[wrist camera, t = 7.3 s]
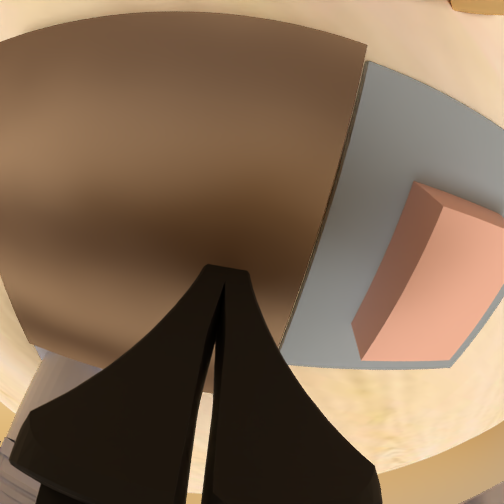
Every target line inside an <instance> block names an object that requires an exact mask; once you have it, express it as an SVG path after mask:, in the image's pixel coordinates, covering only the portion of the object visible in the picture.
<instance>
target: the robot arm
mask: <svg viewBox="0 0 504 504" xmlns="http://www.w3.org/2000/svg"><path fill="white" fill-rule="evenodd" d="M214 345H215V361H214V388H213V409H212V419H211V427H210V435H209V443H208V451H207V459H206V467H205V475H204V484H203V492H202V500H201V504H382V496H381V488H380V483H379V479H378V476H377V473H376V469H375V466H374V465H373V464H372V463H371V462H370V461H369V460H367V459H366V458H365V457H364V456H363V455H362V454H361V453H360V452H358V451H357V450H356V449H355V448H354V447H353V446H352V445H351V444H350V443H349V442H348V441H347V440H346V439H345V438H344V437H343V436H342V435H341V434H340V433H339V432H338V430H337V429H336V428H335V427H334V426H333V425H332V424H331V423H330V422H329V421H328V420H327V418H326V417H325V416H324V415H323V413H322V412H321V411H320V410H319V408H318V407H317V406H316V405H315V403H314V402H313V401H312V400H311V398H310V397H309V396H308V395H307V393H306V392H305V391H304V389H303V388H302V386H301V385H300V383H299V382H298V380H297V379H296V377H295V376H294V374H293V373H292V371H291V370H290V368H289V366H288V365H287V363H286V361H285V360H284V358H283V356H282V354H281V353H280V351H279V349H278V347H277V345H276V343H275V341H274V339H273V337H272V335H271V333H270V331H269V329H268V327H267V324H266V322H265V320H264V317H263V315H262V312H261V310H260V307H259V305H258V302H257V299H256V296H255V293H254V290H253V286H252V282H251V278H250V274H249V272H248V271H247V270H241V269H235V268H229V267H223V266H217V265H211V264H207V265H205V266H204V267H203V269H202V270H201V272H200V274H199V275H198V277H197V278H196V280H195V281H194V282H193V284H192V285H191V286H190V288H189V289H188V290H187V291H186V293H185V294H184V295H183V296H182V297H181V299H180V300H179V301H178V302H177V303H176V305H175V306H174V307H173V308H172V309H171V310H170V311H169V312H168V313H167V314H166V315H165V317H164V318H163V319H162V320H161V321H160V322H159V323H158V324H157V325H156V326H155V327H154V328H153V329H152V330H151V331H150V332H149V333H148V334H146V335H145V336H144V337H143V338H142V339H141V340H140V341H139V342H137V343H136V344H135V345H134V346H133V347H132V348H130V349H129V350H128V351H127V352H125V353H124V354H123V355H122V356H120V357H119V358H118V359H117V360H115V361H114V362H113V363H111V364H110V365H109V366H107V367H106V368H104V369H101V368H98V367H95V366H91V365H88V364H85V363H82V362H79V361H76V360H73V359H70V358H67V357H64V356H62V355H59V354H56V353H53V352H51V351H48V350H45V349H43V348H40V347H38V346H35V345H34V346H35V348H36V350H37V352H38V354H39V356H40V358H41V360H42V362H41V364H40V366H39V368H38V370H37V371H36V373H35V375H34V377H33V379H32V381H31V383H30V385H29V387H28V389H27V391H26V393H25V396H24V398H23V400H22V402H21V404H20V406H19V408H18V411H17V413H16V415H15V417H14V420H13V422H12V425H11V427H10V429H9V432H8V434H7V437H5V438H4V441H3V443H2V446H1V447H0V504H186V497H187V489H188V480H189V472H190V465H191V457H192V450H193V442H194V435H195V428H196V421H197V414H198V409H199V404H200V399H201V395H202V392H203V388H204V384H205V380H206V376H207V372H208V368H209V365H210V361H211V357H212V353H213V349H214ZM0 442H1V441H0ZM459 504H504V482H503V481H502V482H500V483H499V484H497V485H495V486H493V487H492V488H490V489H488V490H486V491H484V492H482V493H481V494H478V495H476V496H474V497H472V498H470V499H468V500H465V501H463V502H461V503H459Z"/></svg>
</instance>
